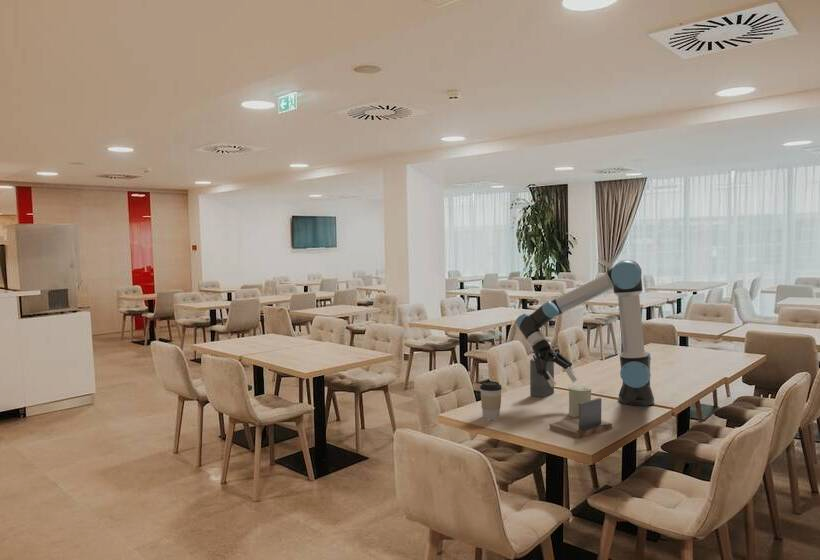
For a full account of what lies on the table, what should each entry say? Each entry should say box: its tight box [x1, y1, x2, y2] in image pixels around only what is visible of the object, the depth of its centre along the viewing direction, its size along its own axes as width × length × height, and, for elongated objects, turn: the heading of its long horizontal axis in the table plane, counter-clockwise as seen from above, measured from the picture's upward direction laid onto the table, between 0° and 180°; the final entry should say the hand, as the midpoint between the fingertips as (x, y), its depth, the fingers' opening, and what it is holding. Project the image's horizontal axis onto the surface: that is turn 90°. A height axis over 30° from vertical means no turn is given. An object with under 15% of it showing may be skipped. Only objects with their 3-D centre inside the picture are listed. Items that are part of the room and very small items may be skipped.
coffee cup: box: [479, 380, 503, 420], centre depth 242 cm, size 9×9×15 cm
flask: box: [529, 358, 555, 399], centre depth 276 cm, size 15×6×20 cm, turn 130°
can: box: [568, 385, 592, 418], centre depth 243 cm, size 9×9×12 cm
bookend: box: [579, 397, 606, 431], centre depth 221 cm, size 12×3×10 cm, turn 124°
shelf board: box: [549, 416, 613, 439], centre depth 226 cm, size 20×14×2 cm
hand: (564, 383), depth 249 cm, fingers open, 13 cm apart
